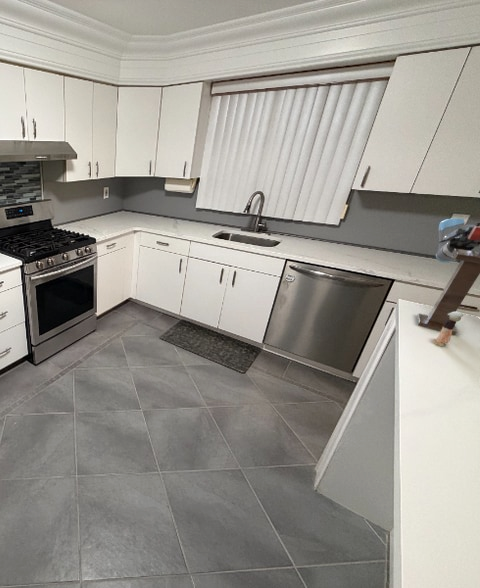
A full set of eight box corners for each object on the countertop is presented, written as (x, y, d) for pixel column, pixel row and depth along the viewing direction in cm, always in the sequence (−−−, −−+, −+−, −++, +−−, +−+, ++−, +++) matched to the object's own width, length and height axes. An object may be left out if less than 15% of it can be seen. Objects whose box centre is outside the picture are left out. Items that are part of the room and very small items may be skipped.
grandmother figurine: (447, 349, 107) (468, 317, 101) (432, 344, 109) (451, 313, 103) (445, 340, 112) (465, 310, 106) (430, 336, 114) (449, 306, 109)
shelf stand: (454, 335, 115) (502, 262, 102) (417, 325, 121) (458, 255, 108) (451, 323, 123) (495, 254, 110) (416, 314, 129) (454, 248, 116)
